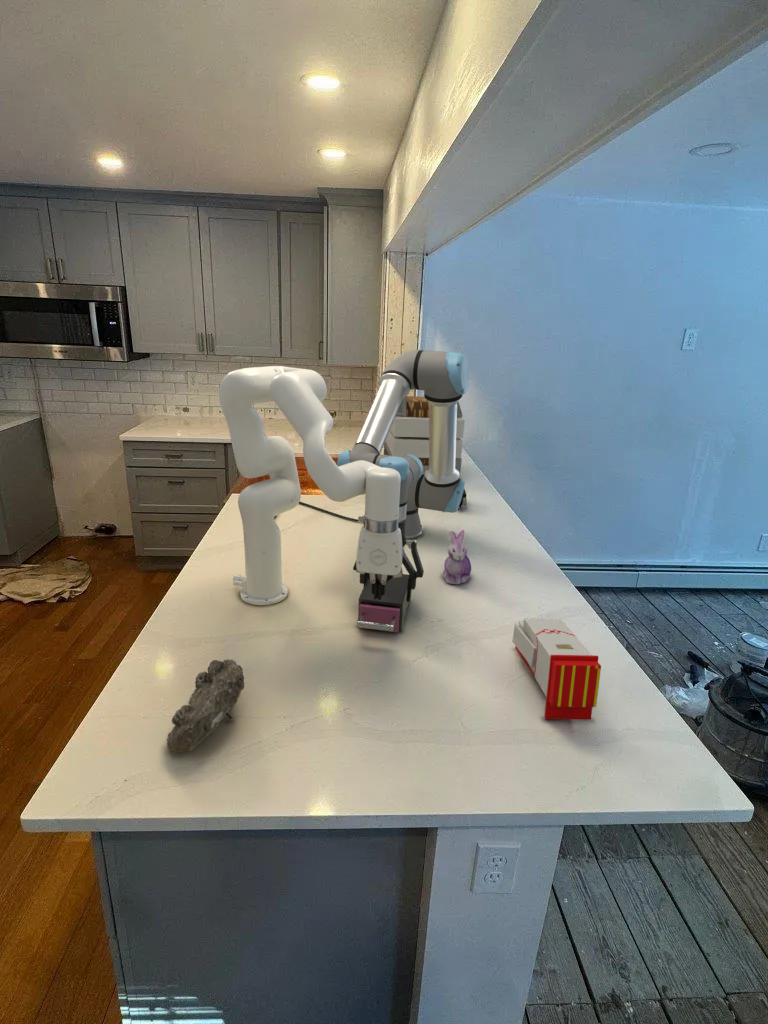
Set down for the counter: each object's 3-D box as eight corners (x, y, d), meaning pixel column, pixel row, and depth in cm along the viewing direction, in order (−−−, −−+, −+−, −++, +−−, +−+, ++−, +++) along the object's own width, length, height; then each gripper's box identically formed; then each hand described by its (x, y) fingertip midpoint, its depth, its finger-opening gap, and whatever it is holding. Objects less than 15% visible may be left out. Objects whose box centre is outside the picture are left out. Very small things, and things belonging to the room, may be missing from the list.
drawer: (394, 644, 132) (396, 622, 130) (354, 639, 134) (354, 617, 132) (405, 602, 152) (406, 582, 149) (369, 598, 153) (370, 578, 151)
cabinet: (401, 632, 139) (403, 603, 137) (357, 626, 141) (358, 598, 138) (409, 600, 155) (410, 574, 152) (369, 595, 156) (370, 570, 153)
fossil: (192, 660, 117) (244, 628, 112) (224, 691, 120) (276, 661, 115) (142, 746, 98) (202, 712, 93) (182, 779, 101) (242, 748, 96)
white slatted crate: (382, 463, 289) (386, 382, 275) (445, 464, 293) (451, 384, 279) (390, 482, 257) (394, 392, 243) (460, 483, 261) (468, 394, 247)
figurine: (453, 588, 162) (457, 540, 157) (434, 573, 170) (437, 527, 165) (479, 582, 166) (485, 535, 161) (459, 568, 175) (464, 523, 170)
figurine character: (467, 515, 225) (461, 499, 238) (469, 498, 221) (463, 482, 235) (450, 514, 224) (445, 498, 238) (452, 497, 221) (447, 482, 234)
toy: (557, 603, 136) (610, 662, 107) (552, 655, 139) (602, 726, 109) (507, 602, 136) (546, 661, 106) (503, 654, 138) (540, 725, 109)
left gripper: (344, 526, 123) (343, 601, 130) (412, 533, 121) (408, 608, 128) (352, 514, 130) (350, 586, 137) (416, 520, 128) (411, 593, 135)
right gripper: (342, 519, 140) (340, 598, 148) (436, 528, 137) (429, 608, 145) (348, 509, 147) (346, 585, 155) (438, 518, 144) (432, 595, 152)
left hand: (378, 596), depth 132 cm, fingers closed
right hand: (387, 596), depth 150 cm, fingers closed on cabinet, 11 cm apart
